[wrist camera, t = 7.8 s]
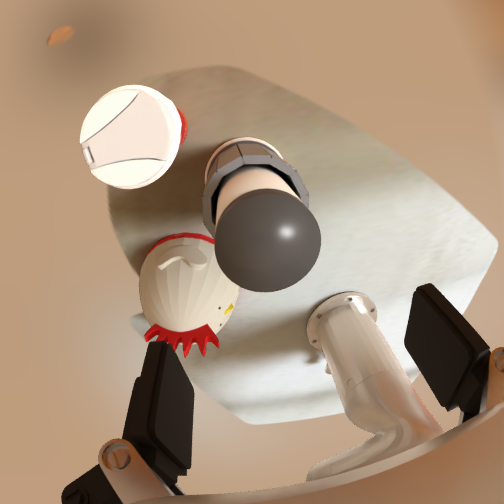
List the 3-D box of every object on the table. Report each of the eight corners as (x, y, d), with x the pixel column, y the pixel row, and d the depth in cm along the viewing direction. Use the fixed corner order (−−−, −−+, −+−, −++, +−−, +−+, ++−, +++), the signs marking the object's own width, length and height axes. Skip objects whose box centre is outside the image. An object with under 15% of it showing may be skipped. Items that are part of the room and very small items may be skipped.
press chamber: (284, 214, 38) (310, 259, 27) (207, 216, 37) (199, 264, 26) (287, 137, 33) (318, 149, 22) (203, 138, 32) (192, 149, 21)
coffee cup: (144, 171, 33) (96, 209, 20) (123, 111, 30) (61, 114, 16) (207, 147, 33) (195, 169, 20) (186, 85, 29) (159, 64, 16)
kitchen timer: (239, 315, 44) (246, 393, 31) (151, 316, 43) (131, 391, 30) (238, 230, 38) (246, 297, 25) (136, 234, 37) (96, 298, 24)
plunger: (274, 207, 34) (315, 289, 19) (220, 208, 34) (217, 294, 18) (275, 154, 32) (325, 194, 16) (218, 155, 31) (211, 195, 16)
